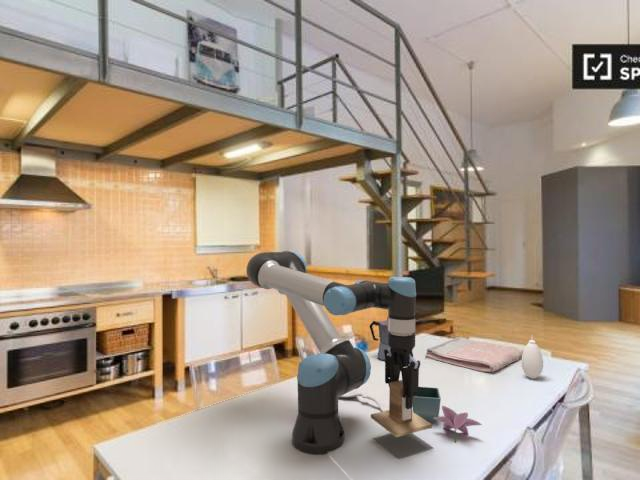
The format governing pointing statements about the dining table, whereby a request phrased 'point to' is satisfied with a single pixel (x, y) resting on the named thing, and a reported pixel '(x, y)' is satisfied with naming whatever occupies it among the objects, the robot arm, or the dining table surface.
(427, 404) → the flower pot
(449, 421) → the lily
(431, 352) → the towel
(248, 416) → the dining table surface
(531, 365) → the white tall oval piece
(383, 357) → the moka pot
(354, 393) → the white spork
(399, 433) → the lid
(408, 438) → the plate
